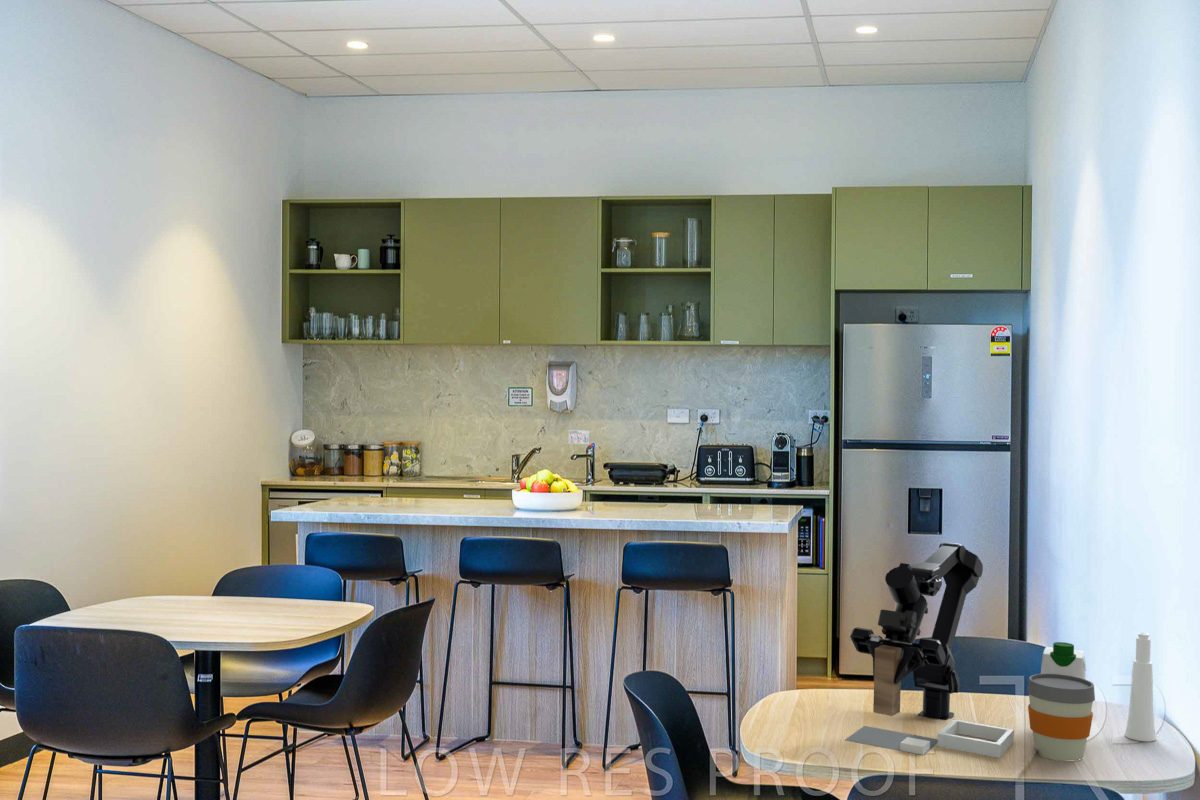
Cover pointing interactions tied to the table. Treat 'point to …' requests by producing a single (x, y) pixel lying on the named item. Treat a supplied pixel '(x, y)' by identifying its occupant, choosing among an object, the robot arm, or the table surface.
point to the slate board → (885, 738)
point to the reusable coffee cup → (1060, 715)
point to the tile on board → (915, 745)
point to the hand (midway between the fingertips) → (884, 680)
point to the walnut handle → (886, 680)
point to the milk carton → (1063, 660)
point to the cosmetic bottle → (1141, 694)
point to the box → (994, 749)
